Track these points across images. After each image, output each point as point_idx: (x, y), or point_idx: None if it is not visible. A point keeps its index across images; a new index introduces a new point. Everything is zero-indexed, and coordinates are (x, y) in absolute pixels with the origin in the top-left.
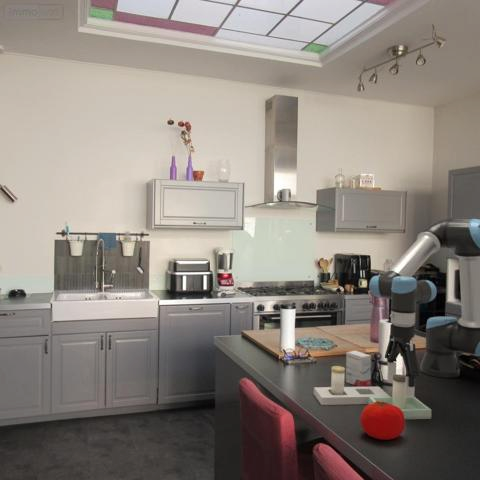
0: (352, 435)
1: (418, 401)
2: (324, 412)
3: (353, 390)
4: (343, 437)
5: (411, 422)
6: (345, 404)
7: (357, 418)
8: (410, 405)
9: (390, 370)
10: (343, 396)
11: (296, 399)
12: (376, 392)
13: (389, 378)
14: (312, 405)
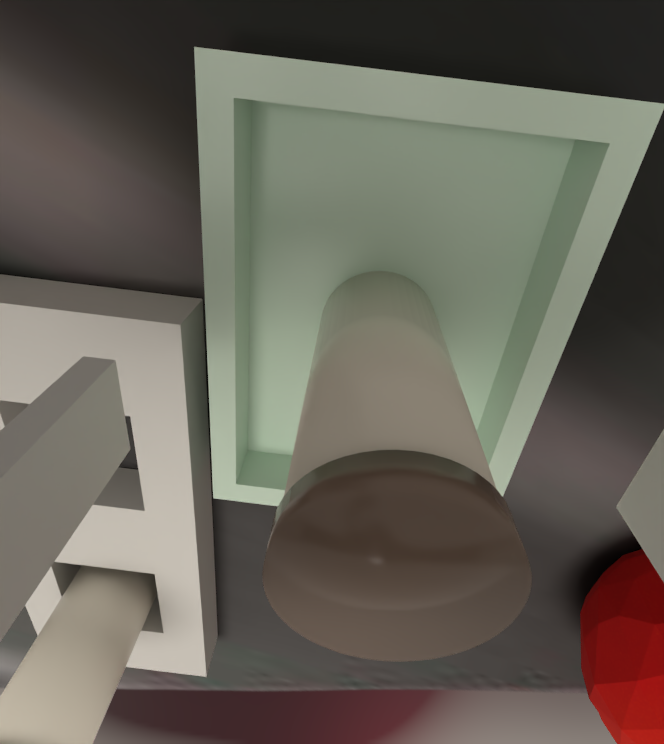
0: (578, 658)
1: (375, 101)
2: (309, 653)
3: None
4: (577, 684)
5: (590, 339)
6: (213, 555)
7: None
8: (295, 151)
9: (26, 563)
10: (187, 600)
11: (148, 680)
12: None
13: (104, 467)
14: (221, 660)
